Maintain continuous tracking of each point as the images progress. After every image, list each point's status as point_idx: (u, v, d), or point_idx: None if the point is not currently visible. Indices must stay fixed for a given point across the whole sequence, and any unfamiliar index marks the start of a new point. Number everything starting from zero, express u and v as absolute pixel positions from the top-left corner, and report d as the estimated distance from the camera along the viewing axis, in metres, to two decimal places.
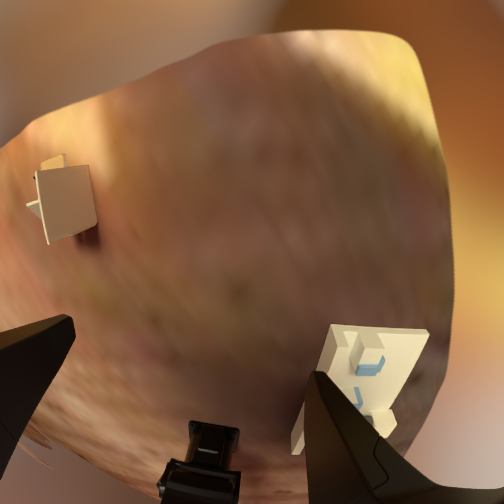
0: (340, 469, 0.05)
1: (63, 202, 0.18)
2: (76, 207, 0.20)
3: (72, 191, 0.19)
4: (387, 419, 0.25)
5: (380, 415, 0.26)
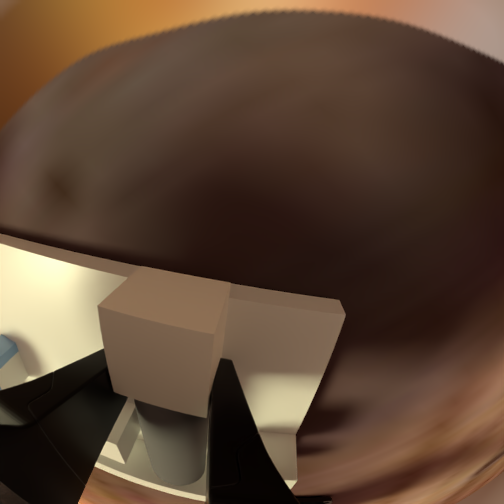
0: (208, 460, 0.05)
1: None
2: None
3: None
4: None
5: None
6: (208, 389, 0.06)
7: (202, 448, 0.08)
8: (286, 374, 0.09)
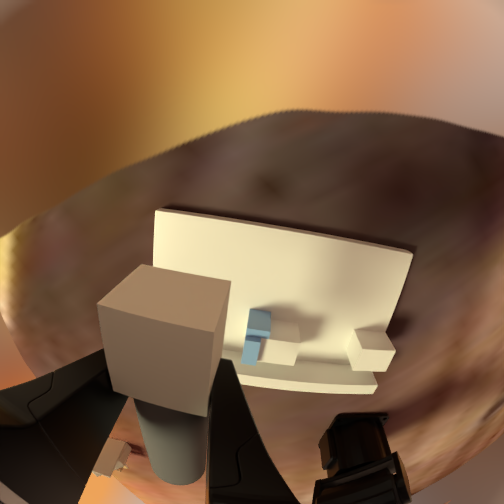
0: (208, 460, 0.05)
1: (100, 458, 0.25)
2: (108, 452, 0.27)
3: None
4: None
5: None
6: (208, 388, 0.06)
7: (202, 448, 0.08)
8: (387, 286, 0.18)
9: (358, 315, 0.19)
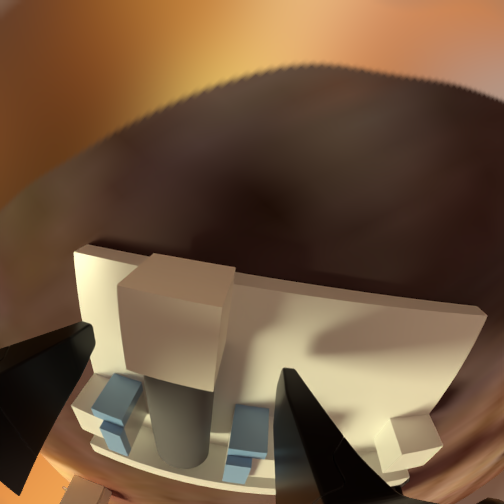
0: (299, 470, 0.05)
1: (78, 502, 0.17)
2: (86, 496, 0.18)
3: (78, 493, 0.18)
4: None
5: None
6: (215, 362, 0.07)
7: (207, 428, 0.09)
8: (446, 363, 0.10)
9: (399, 403, 0.11)
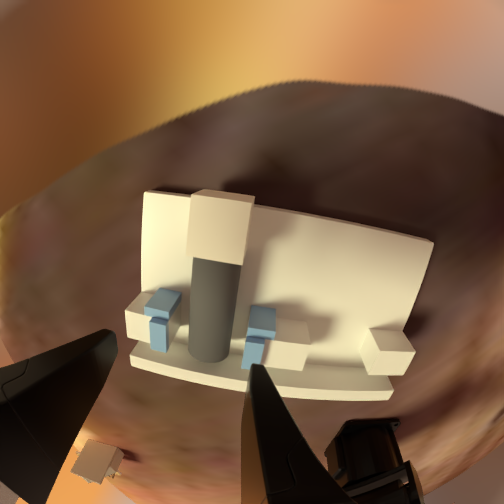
0: (254, 467, 0.05)
1: (91, 464, 0.23)
2: (99, 457, 0.24)
3: (91, 456, 0.24)
4: None
5: None
6: (245, 240, 0.13)
7: (232, 315, 0.15)
8: (406, 279, 0.16)
9: (374, 312, 0.16)
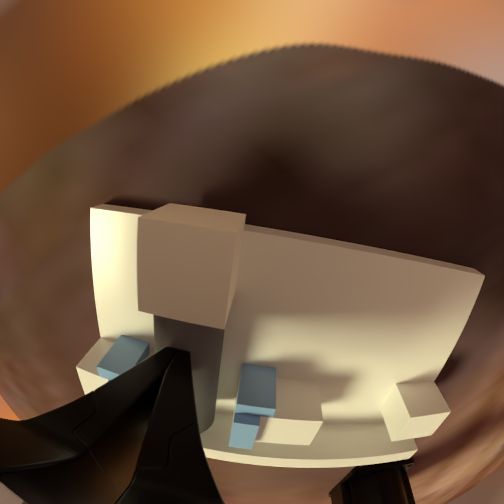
0: None
1: None
2: None
3: None
4: None
5: None
6: (228, 293, 0.08)
7: (214, 384, 0.10)
8: (448, 324, 0.10)
9: (404, 365, 0.11)
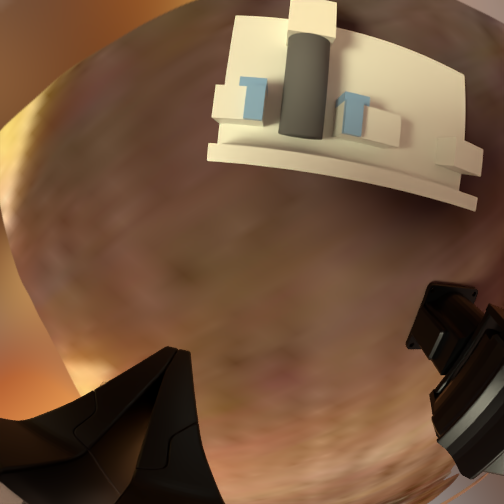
0: None
1: None
2: None
3: None
4: None
5: None
6: (335, 22, 0.11)
7: (326, 88, 0.14)
8: (453, 98, 0.14)
9: (437, 122, 0.15)
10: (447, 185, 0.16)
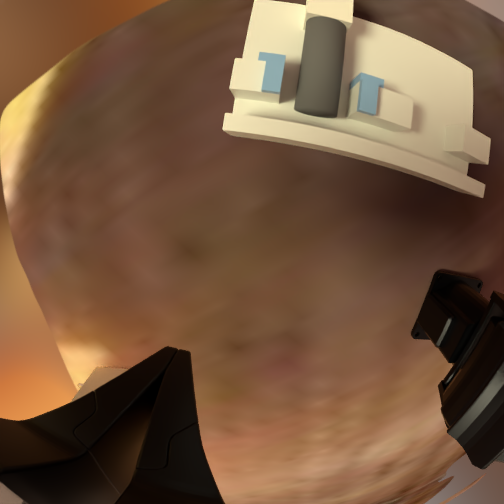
0: None
1: None
2: None
3: (98, 384, 0.22)
4: None
5: (305, 12, 0.13)
6: (352, 9, 0.11)
7: (342, 69, 0.13)
8: (461, 90, 0.14)
9: (446, 111, 0.14)
10: None
